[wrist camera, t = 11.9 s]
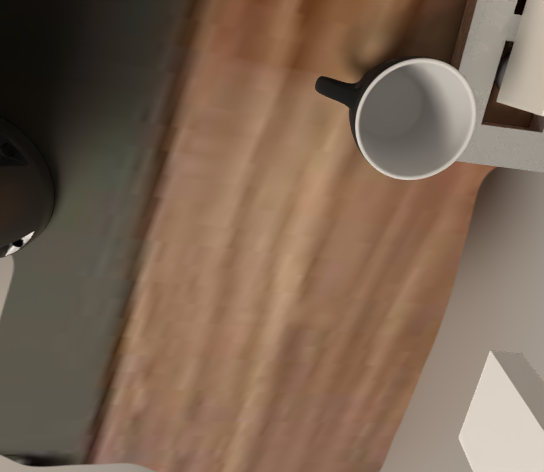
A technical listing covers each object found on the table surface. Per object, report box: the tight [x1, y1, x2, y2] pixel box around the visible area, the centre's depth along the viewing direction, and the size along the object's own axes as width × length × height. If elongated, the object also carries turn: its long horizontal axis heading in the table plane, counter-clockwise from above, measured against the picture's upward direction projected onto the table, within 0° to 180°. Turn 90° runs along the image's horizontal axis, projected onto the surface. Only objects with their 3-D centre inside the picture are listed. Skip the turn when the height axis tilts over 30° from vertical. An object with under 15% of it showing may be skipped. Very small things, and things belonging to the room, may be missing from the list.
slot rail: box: [451, 0, 544, 172], centre depth 40 cm, size 12×23×2 cm, turn 173°
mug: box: [315, 56, 477, 180], centre depth 39 cm, size 12×9×10 cm
